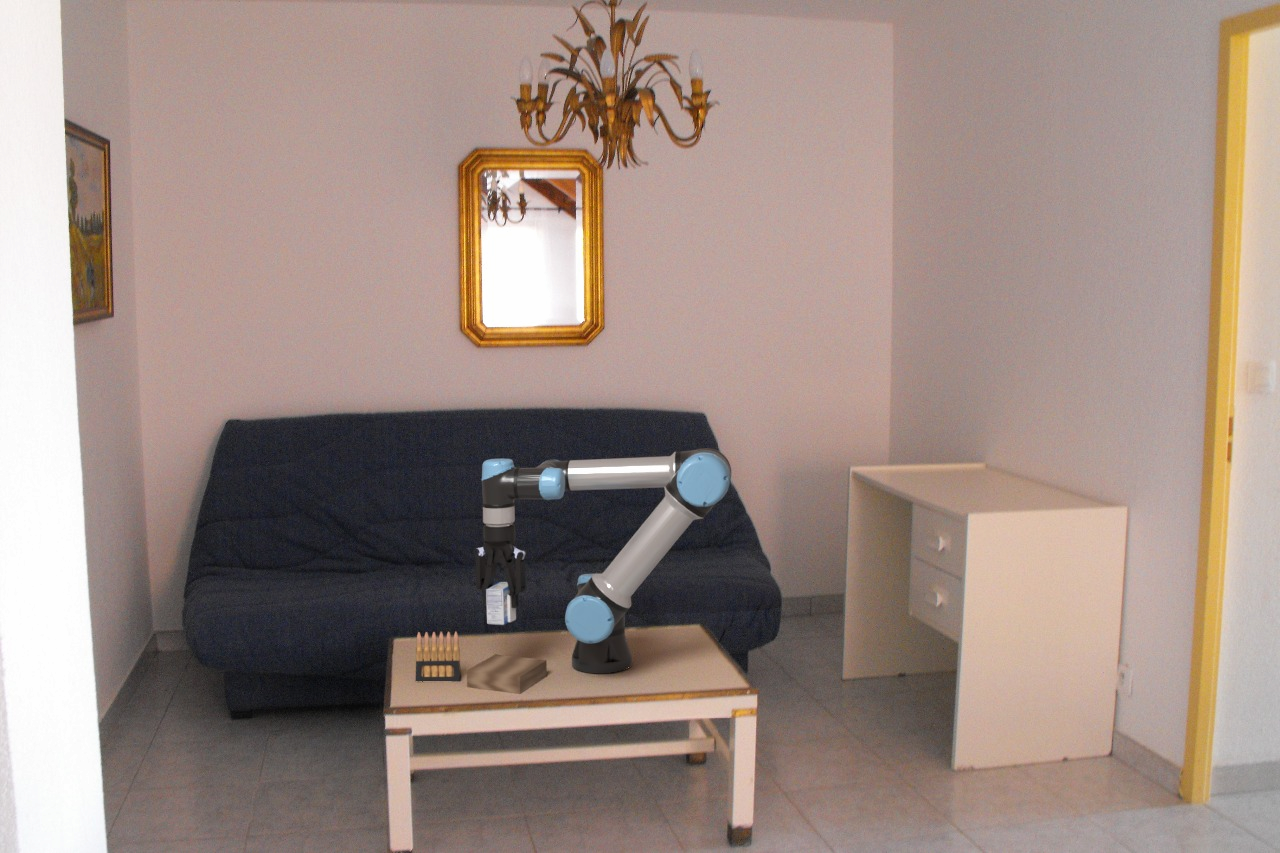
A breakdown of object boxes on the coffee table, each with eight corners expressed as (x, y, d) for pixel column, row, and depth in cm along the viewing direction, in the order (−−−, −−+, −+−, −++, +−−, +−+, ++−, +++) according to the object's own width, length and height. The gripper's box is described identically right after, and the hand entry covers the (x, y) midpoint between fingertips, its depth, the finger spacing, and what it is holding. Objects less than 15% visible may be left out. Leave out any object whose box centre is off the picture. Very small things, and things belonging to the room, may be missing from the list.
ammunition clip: (461, 679, 271) (460, 630, 270) (460, 681, 269) (459, 632, 268) (416, 679, 270) (415, 630, 269) (415, 682, 269) (414, 633, 268)
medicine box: (504, 625, 265) (503, 589, 264) (486, 624, 266) (485, 588, 266) (516, 617, 273) (515, 582, 272) (499, 616, 274) (498, 581, 273)
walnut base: (546, 676, 273) (546, 660, 272) (520, 693, 260) (519, 676, 259) (495, 670, 278) (495, 654, 277) (467, 686, 265) (466, 670, 264)
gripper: (539, 523, 267) (542, 619, 269) (475, 519, 275) (477, 612, 277) (524, 528, 261) (526, 627, 263) (458, 524, 268) (461, 620, 270)
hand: (501, 619), depth 270 cm, fingers closed on medicine box, 5 cm apart
